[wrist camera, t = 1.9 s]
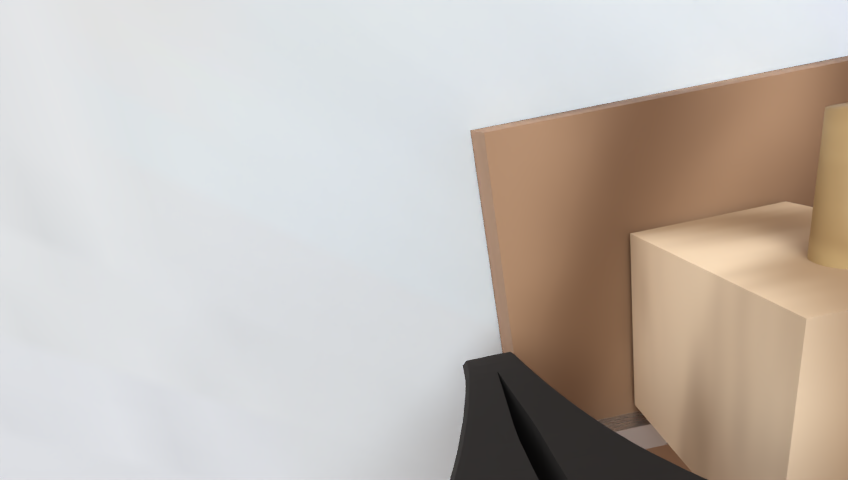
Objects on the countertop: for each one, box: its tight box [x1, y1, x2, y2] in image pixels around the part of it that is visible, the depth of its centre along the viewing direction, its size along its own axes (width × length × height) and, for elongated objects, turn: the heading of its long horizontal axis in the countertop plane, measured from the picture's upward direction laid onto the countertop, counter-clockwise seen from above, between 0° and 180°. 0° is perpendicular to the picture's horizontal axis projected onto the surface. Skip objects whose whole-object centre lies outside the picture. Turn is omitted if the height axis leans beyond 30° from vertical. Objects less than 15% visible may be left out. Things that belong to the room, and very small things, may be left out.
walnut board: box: [471, 56, 848, 472], centre depth 14 cm, size 20×15×2 cm
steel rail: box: [597, 411, 668, 449], centre depth 13 cm, size 20×1×1 cm, turn 100°
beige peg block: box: [630, 103, 848, 480], centre depth 9 cm, size 5×9×5 cm, turn 11°
